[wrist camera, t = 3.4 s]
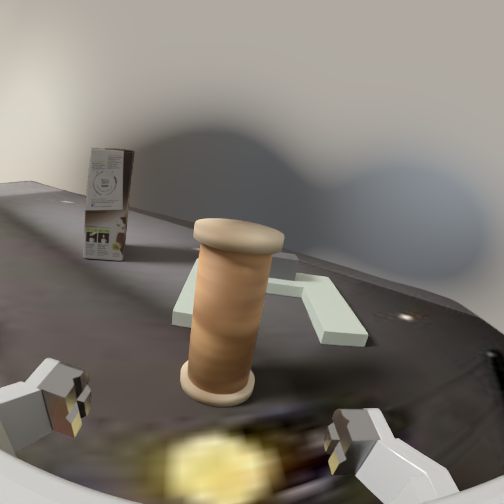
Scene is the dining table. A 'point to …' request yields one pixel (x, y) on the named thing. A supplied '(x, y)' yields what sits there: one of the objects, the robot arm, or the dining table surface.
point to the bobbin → (227, 309)
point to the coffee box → (107, 203)
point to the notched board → (296, 285)
